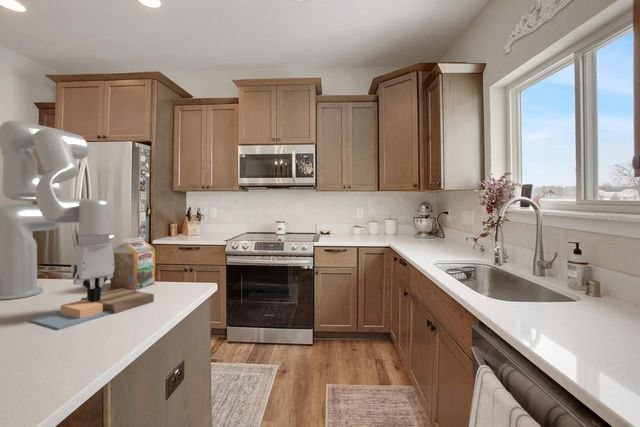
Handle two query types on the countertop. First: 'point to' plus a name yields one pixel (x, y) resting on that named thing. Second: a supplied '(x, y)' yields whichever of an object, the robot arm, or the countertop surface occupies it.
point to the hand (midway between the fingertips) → (94, 300)
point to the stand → (123, 300)
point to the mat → (64, 319)
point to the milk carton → (133, 265)
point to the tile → (81, 308)
